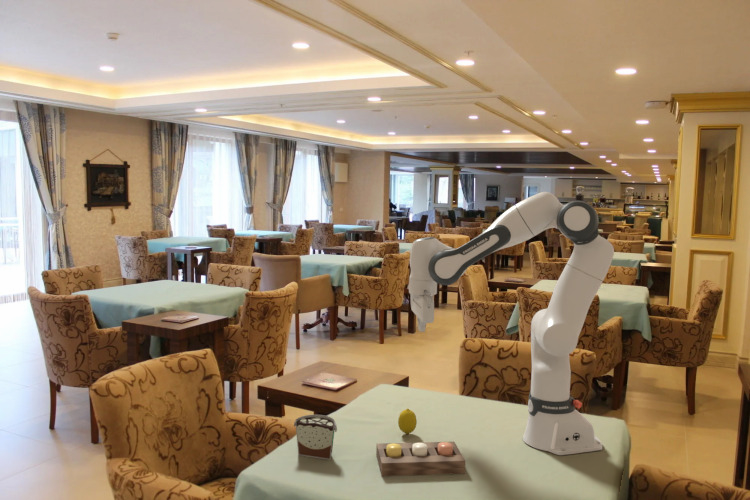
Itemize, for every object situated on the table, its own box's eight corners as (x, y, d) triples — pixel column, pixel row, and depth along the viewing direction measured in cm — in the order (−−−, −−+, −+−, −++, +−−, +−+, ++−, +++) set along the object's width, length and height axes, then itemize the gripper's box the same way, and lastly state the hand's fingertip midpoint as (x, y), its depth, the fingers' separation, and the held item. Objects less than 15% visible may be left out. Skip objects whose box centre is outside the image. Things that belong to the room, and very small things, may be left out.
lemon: (414, 438, 176) (415, 412, 175) (396, 437, 177) (397, 411, 176) (417, 431, 181) (418, 406, 180) (399, 429, 182) (400, 404, 181)
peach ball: (450, 454, 162) (450, 441, 161) (453, 460, 158) (454, 448, 158) (436, 454, 161) (436, 442, 161) (439, 461, 157) (439, 448, 157)
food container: (342, 451, 166) (343, 416, 165) (335, 460, 160) (335, 425, 159) (301, 445, 169) (302, 411, 168) (293, 454, 164) (293, 419, 163)
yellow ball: (399, 455, 160) (400, 443, 160) (402, 462, 156) (402, 449, 156) (385, 456, 160) (385, 443, 159) (387, 462, 156) (387, 449, 156)
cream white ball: (425, 454, 161) (425, 442, 161) (428, 461, 157) (428, 448, 157) (410, 455, 161) (411, 442, 160) (413, 461, 157) (413, 449, 156)
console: (453, 453, 166) (454, 441, 166) (464, 473, 154) (465, 460, 154) (376, 455, 164) (376, 443, 163) (381, 476, 152) (381, 463, 151)
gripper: (440, 293, 177) (438, 338, 178) (426, 283, 197) (424, 323, 199) (419, 293, 176) (417, 338, 178) (407, 283, 197) (406, 323, 198)
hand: (421, 330), depth 188 cm, fingers closed
